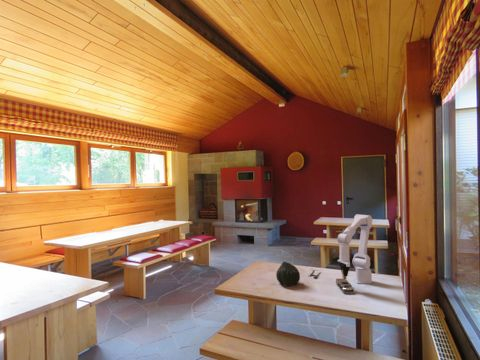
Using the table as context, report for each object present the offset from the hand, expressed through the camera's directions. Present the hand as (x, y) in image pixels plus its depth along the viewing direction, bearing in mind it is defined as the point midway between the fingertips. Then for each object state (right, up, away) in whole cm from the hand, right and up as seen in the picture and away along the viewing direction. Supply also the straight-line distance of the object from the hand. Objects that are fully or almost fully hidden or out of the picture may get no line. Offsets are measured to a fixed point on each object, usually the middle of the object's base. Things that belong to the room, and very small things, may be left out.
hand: (344, 275), depth 184 cm
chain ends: (0, -9, 0) cm, 8 cm away
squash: (-34, -9, +10) cm, 36 cm away
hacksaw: (-12, -9, +32) cm, 35 cm away
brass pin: (0, -2, 0) cm, 2 cm away
